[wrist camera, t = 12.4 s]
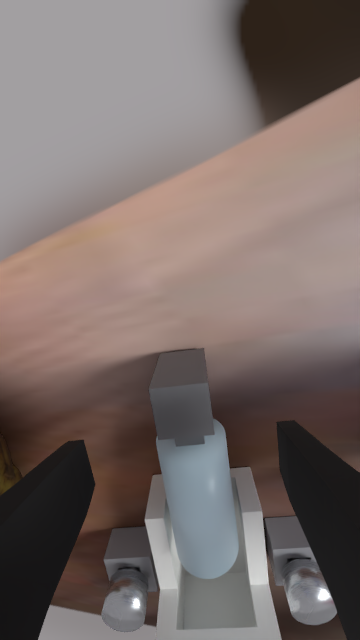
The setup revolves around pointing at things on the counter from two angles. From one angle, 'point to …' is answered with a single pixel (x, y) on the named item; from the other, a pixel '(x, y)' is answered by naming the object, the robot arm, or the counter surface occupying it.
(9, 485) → the potato
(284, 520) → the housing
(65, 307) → the counter surface
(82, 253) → the counter surface
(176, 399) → the cartridge
